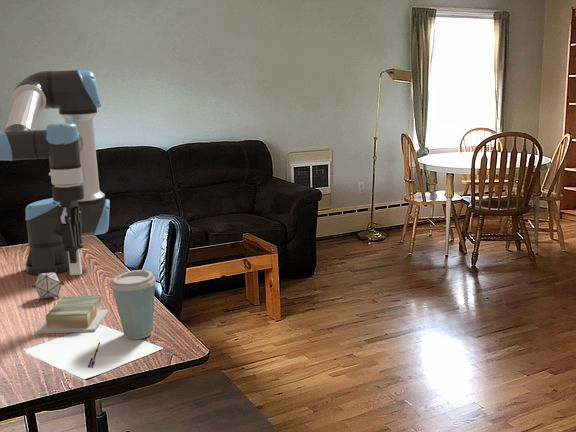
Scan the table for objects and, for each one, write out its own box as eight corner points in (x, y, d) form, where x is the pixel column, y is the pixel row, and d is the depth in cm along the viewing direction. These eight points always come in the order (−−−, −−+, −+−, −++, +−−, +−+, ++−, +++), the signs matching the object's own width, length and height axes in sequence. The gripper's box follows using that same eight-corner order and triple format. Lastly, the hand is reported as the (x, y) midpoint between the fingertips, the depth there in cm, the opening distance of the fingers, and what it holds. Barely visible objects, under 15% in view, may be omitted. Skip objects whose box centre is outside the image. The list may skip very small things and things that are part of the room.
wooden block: (63, 296, 167) (45, 315, 154) (100, 295, 168) (86, 313, 154) (64, 309, 168) (47, 329, 154) (102, 308, 168) (88, 327, 155)
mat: (55, 313, 167) (55, 311, 167) (108, 311, 167) (108, 309, 167) (37, 333, 153) (37, 331, 153) (94, 331, 154) (94, 329, 154)
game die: (53, 312, 179) (50, 292, 172) (27, 301, 180) (23, 280, 173) (71, 289, 185) (68, 269, 178) (46, 278, 186) (42, 257, 179)
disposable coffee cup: (139, 346, 144) (134, 284, 141) (105, 338, 149) (99, 278, 146) (168, 330, 153) (164, 271, 150) (135, 323, 158) (131, 266, 155)
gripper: (60, 181, 164) (69, 267, 169) (43, 189, 152) (53, 282, 156) (89, 180, 165) (97, 266, 169) (74, 188, 152) (83, 281, 157)
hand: (76, 273), depth 163 cm, fingers closed
